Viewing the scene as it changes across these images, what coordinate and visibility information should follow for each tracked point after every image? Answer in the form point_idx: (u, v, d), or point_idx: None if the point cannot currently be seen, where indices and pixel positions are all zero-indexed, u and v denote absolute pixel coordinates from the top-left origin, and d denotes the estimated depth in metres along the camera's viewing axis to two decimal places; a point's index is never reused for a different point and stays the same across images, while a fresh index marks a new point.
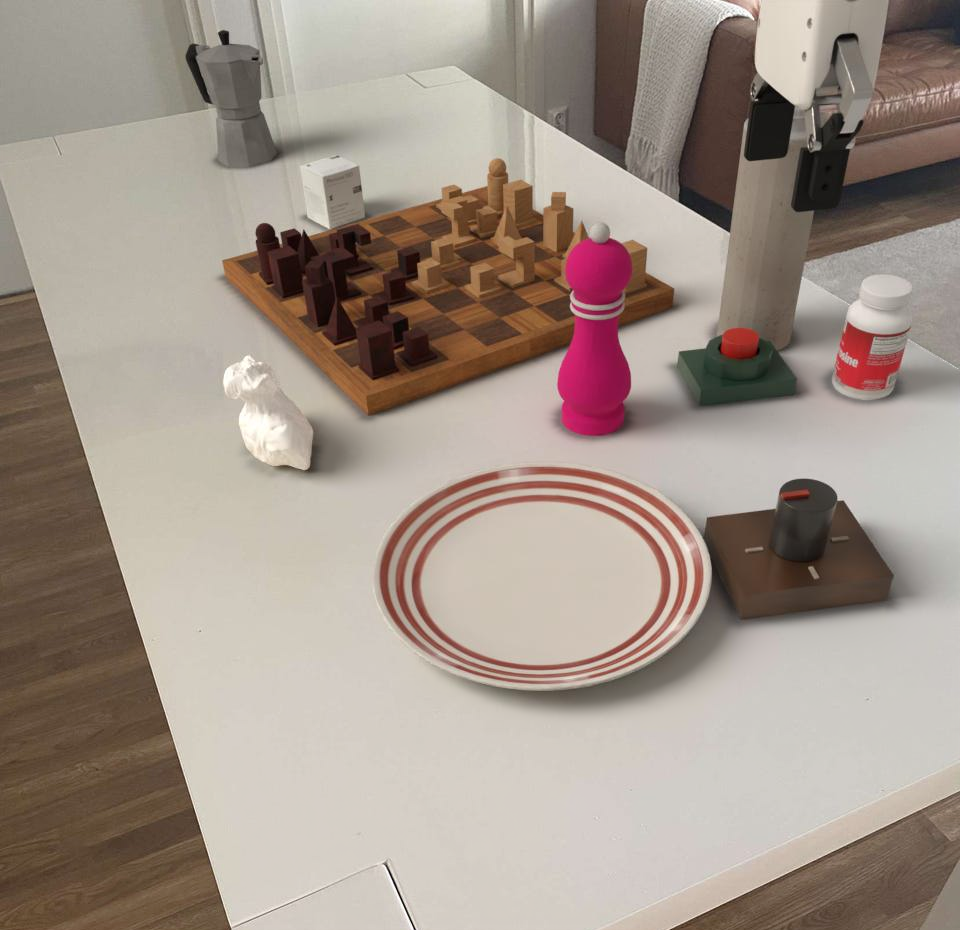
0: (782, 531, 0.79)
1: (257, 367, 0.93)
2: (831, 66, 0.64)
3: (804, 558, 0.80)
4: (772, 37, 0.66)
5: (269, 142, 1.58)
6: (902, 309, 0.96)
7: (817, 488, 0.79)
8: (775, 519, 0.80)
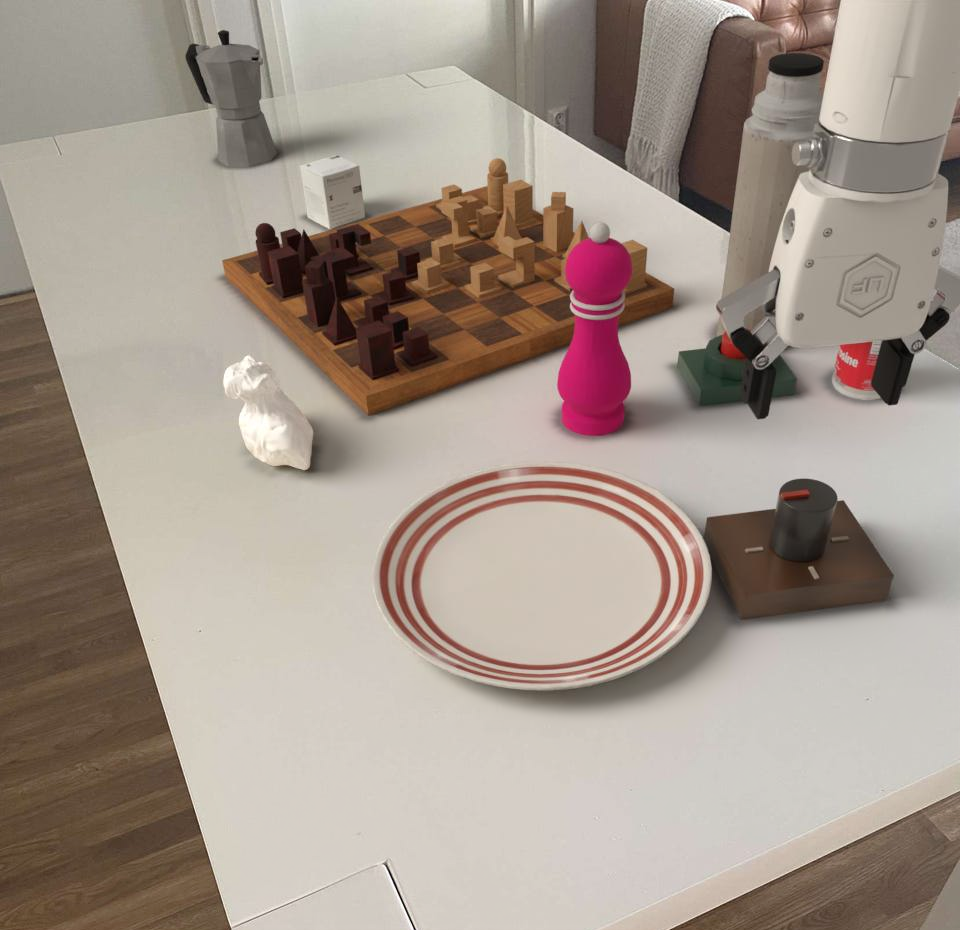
0: (782, 531, 0.79)
1: (257, 367, 0.93)
2: None
3: (804, 558, 0.80)
4: None
5: (269, 142, 1.58)
6: None
7: (817, 488, 0.79)
8: (775, 519, 0.80)
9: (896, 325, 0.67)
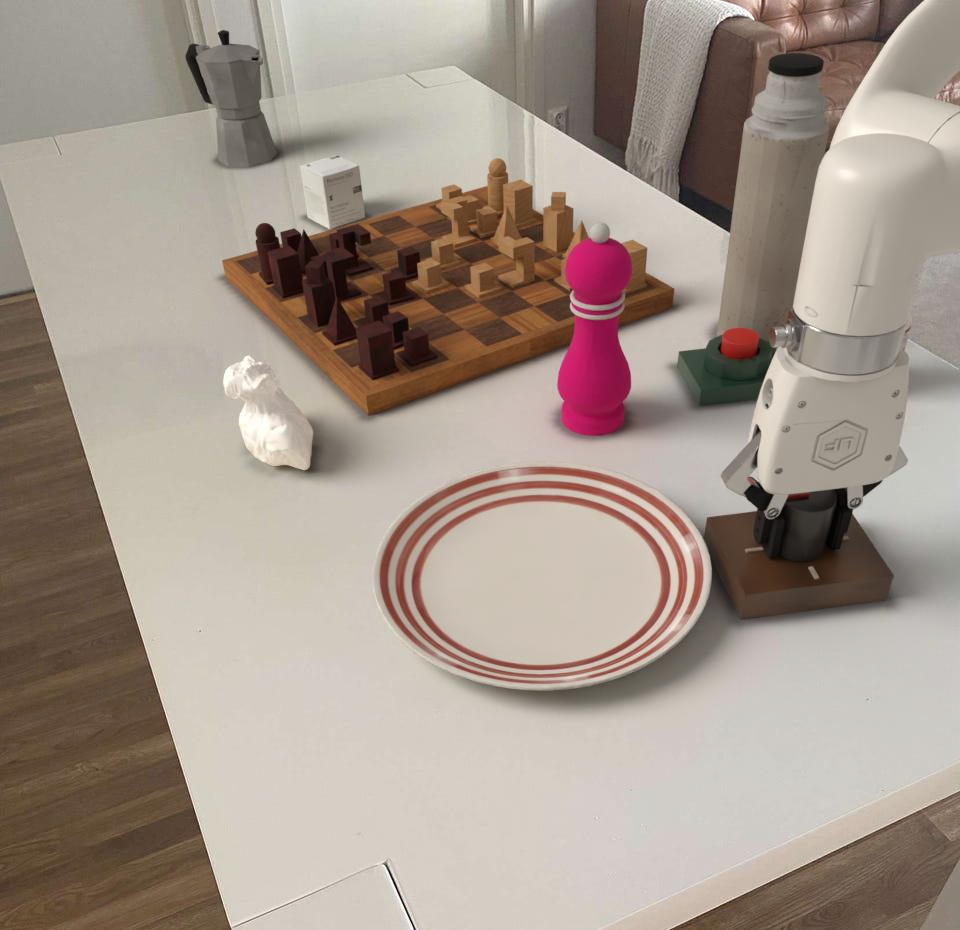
0: None
1: (257, 367, 0.93)
2: None
3: (804, 558, 0.80)
4: None
5: (269, 142, 1.58)
6: None
7: None
8: None
9: (866, 475, 0.74)
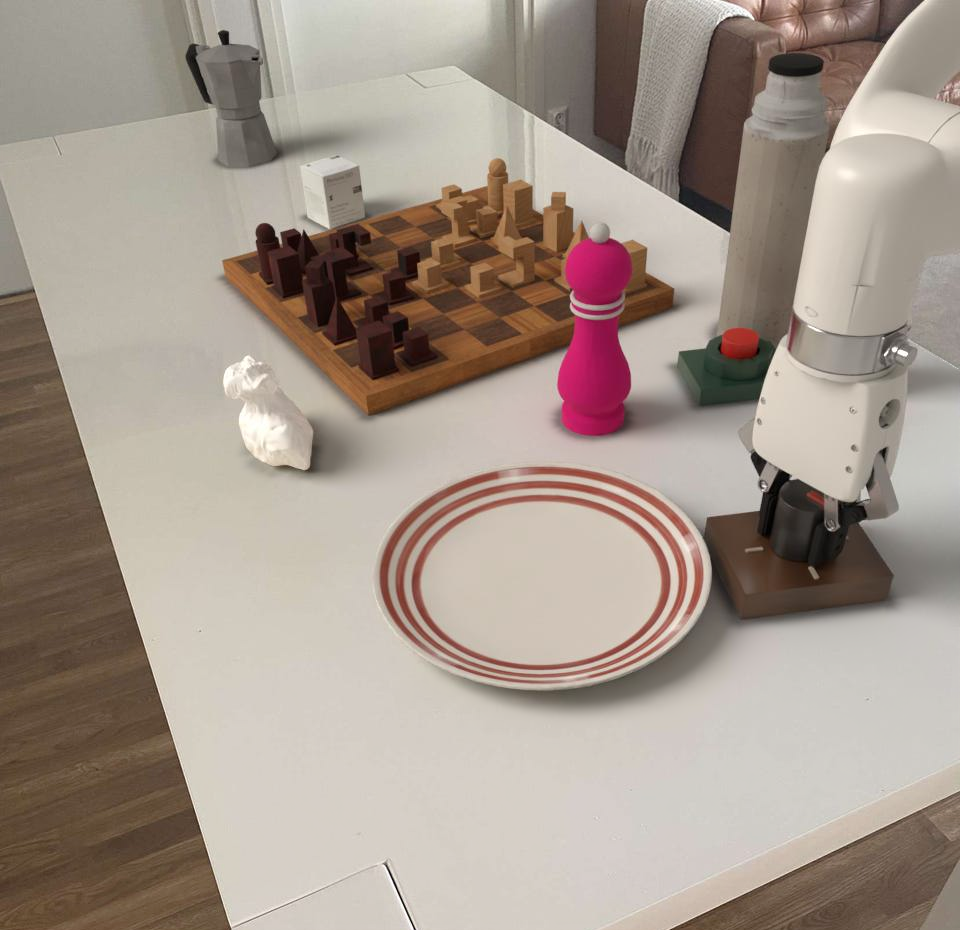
0: None
1: (257, 367, 0.93)
2: None
3: None
4: (791, 442, 0.74)
5: (269, 142, 1.58)
6: None
7: (793, 492, 0.79)
8: None
9: None
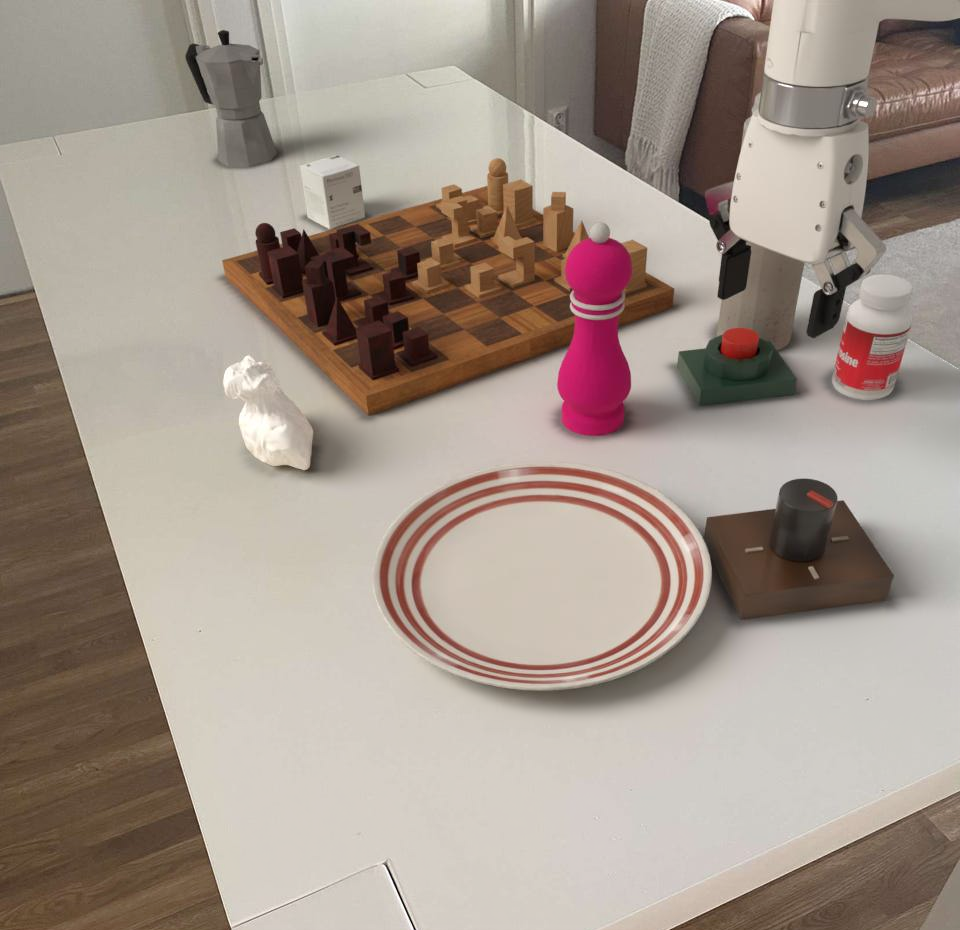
0: (830, 527, 0.79)
1: (257, 367, 0.93)
2: None
3: None
4: (765, 212, 0.81)
5: (269, 142, 1.58)
6: (902, 309, 0.96)
7: (793, 492, 0.79)
8: (823, 532, 0.79)
9: None
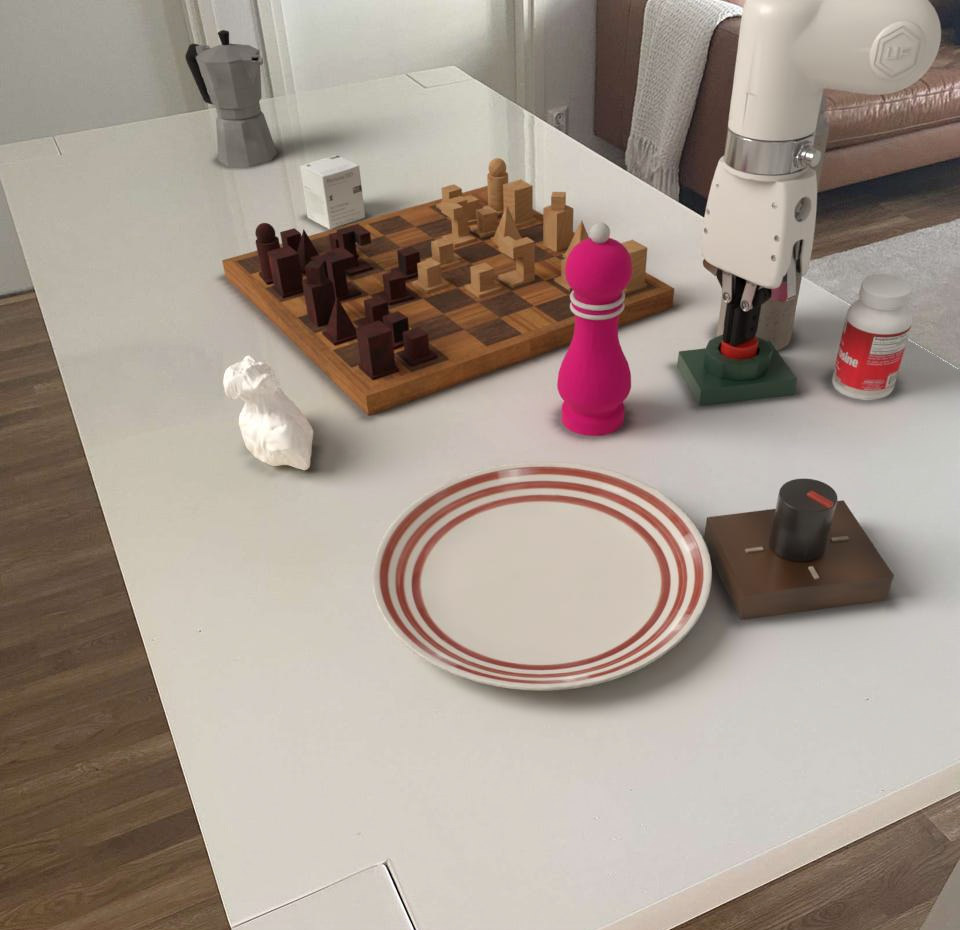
0: (830, 527, 0.79)
1: (257, 367, 0.93)
2: None
3: None
4: (730, 243, 0.94)
5: (269, 142, 1.58)
6: (902, 309, 0.96)
7: (793, 492, 0.79)
8: (823, 532, 0.79)
9: None
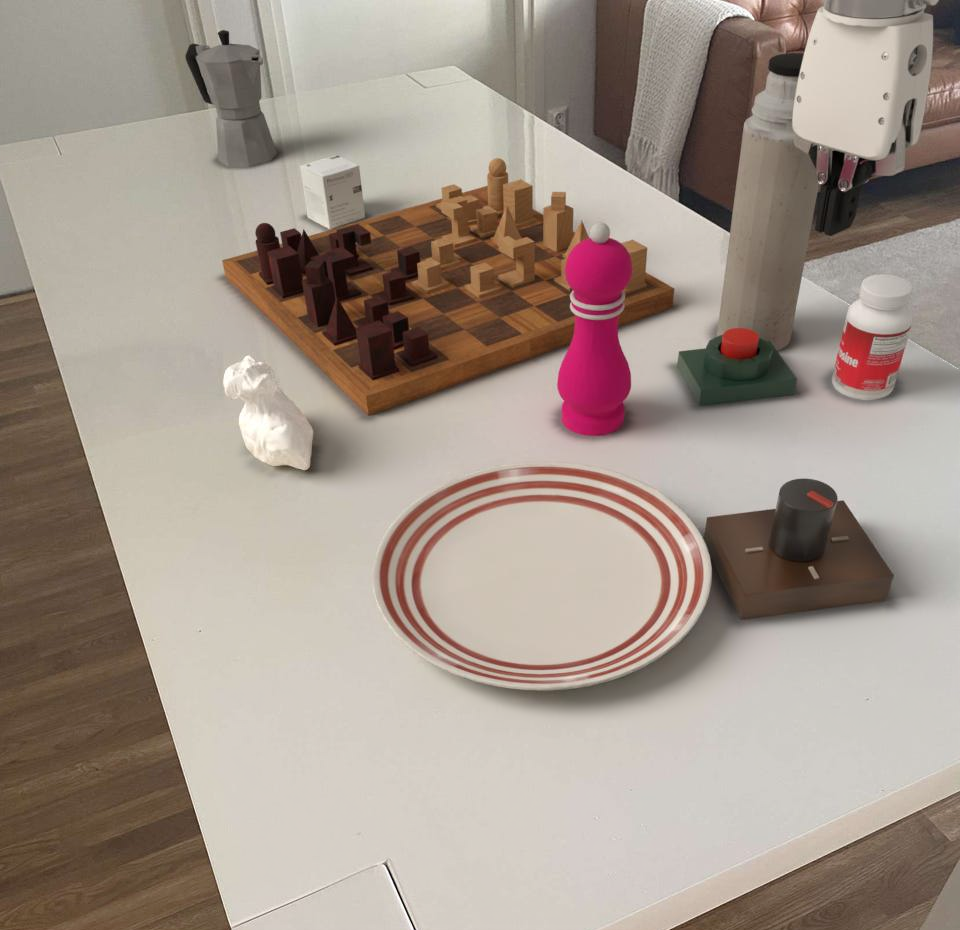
0: (830, 527, 0.79)
1: (257, 367, 0.93)
2: None
3: None
4: (828, 109, 0.83)
5: (269, 142, 1.58)
6: (902, 309, 0.96)
7: (793, 492, 0.79)
8: (823, 532, 0.79)
9: None
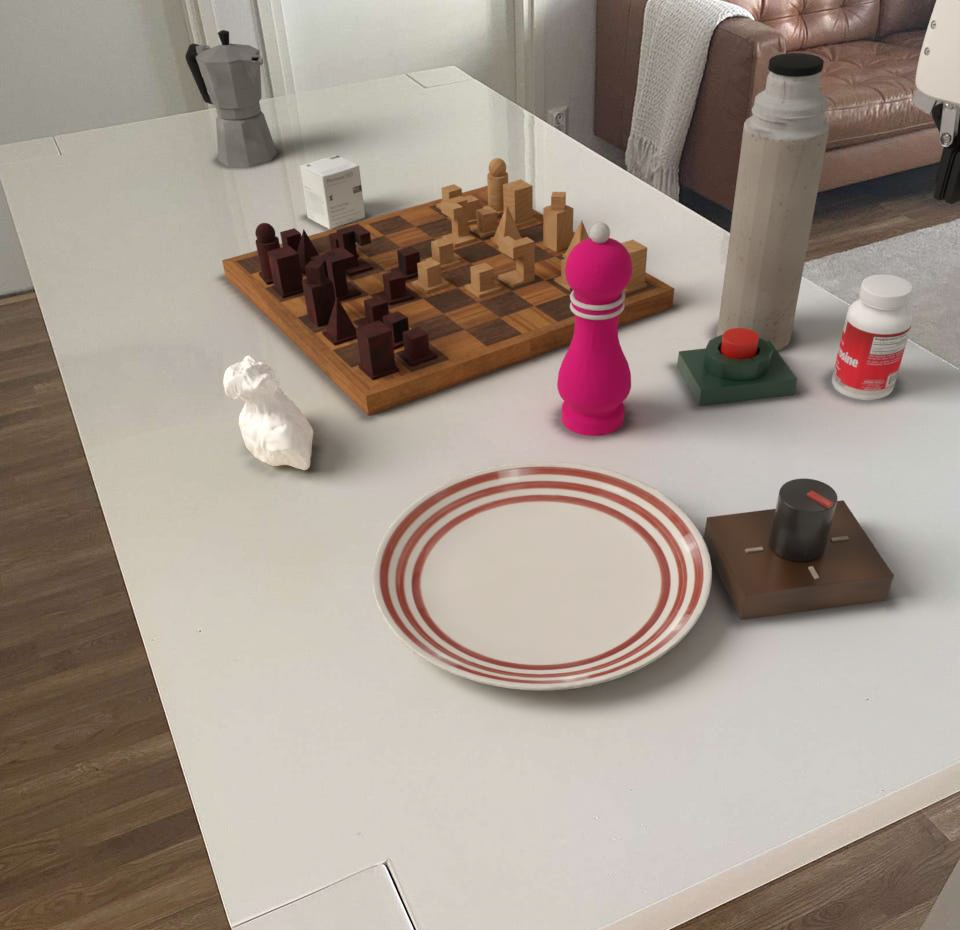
0: (830, 527, 0.79)
1: (257, 367, 0.93)
2: None
3: None
4: None
5: (269, 142, 1.58)
6: (902, 309, 0.96)
7: (793, 492, 0.79)
8: (823, 532, 0.79)
9: None
